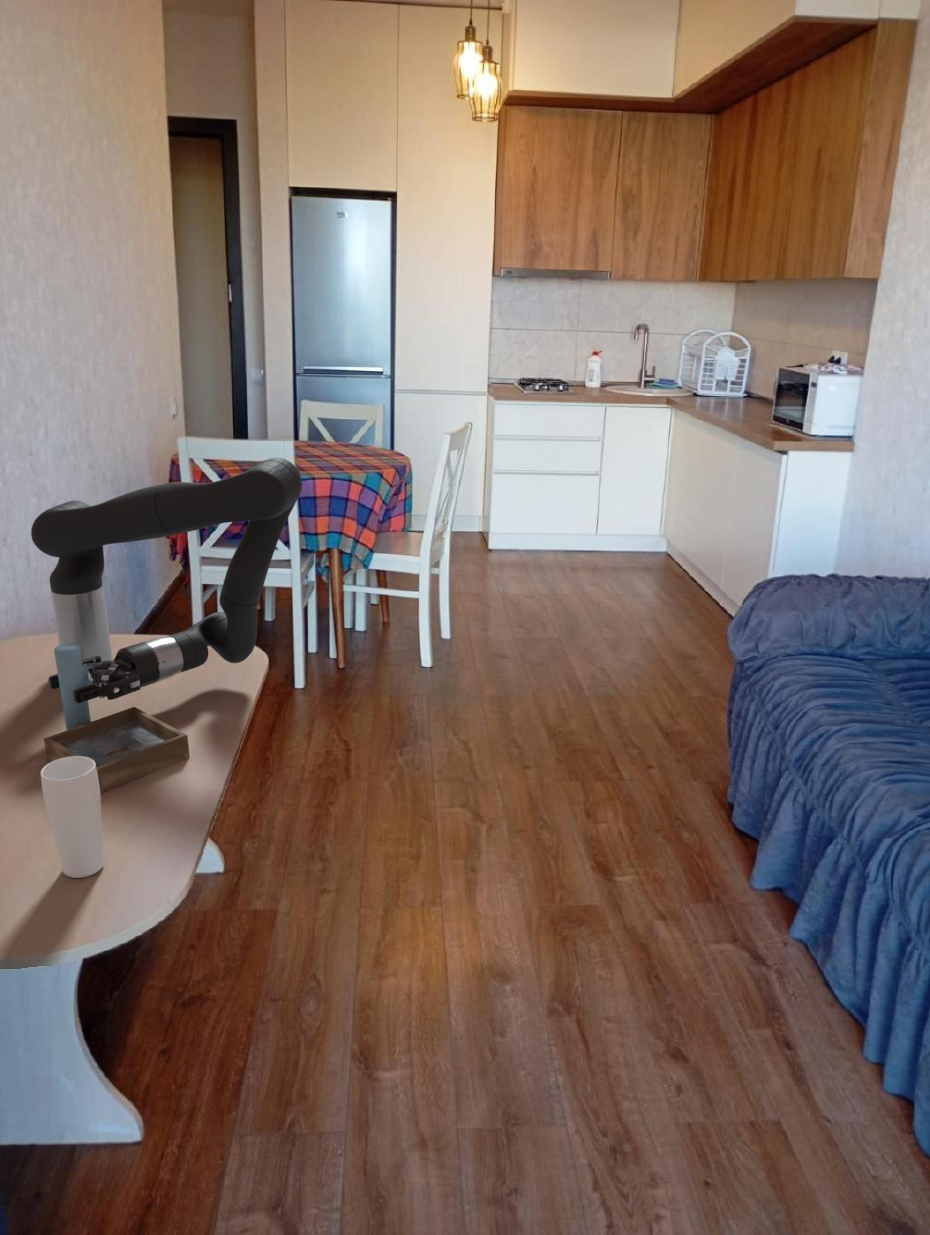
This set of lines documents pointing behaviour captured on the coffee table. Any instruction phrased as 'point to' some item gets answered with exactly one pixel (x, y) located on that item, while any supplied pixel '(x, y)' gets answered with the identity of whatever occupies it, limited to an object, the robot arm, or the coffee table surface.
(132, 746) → the grey metal bore plate
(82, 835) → the drinking glass
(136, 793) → the coffee table surface
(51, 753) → the walnut crate
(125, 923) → the coffee table surface
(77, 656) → the blue-grey painted peg
